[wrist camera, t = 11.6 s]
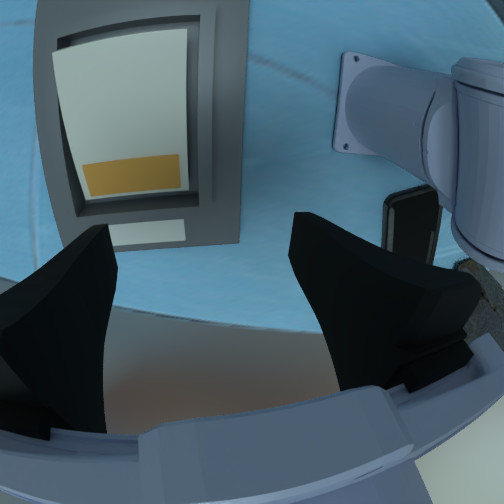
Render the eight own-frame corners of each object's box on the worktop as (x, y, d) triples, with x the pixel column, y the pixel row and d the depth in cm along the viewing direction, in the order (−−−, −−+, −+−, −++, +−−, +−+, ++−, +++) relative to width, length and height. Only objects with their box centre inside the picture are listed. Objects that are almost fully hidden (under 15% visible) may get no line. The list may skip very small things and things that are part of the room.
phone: (378, 309, 32) (387, 199, 23) (374, 303, 33) (380, 194, 24) (427, 287, 32) (446, 183, 23) (422, 282, 33) (439, 178, 24)
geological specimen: (449, 307, 39) (497, 374, 27) (424, 316, 38) (474, 390, 26) (474, 255, 33) (536, 324, 21) (450, 261, 32) (518, 340, 20)
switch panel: (247, -25, 12) (258, -42, 9) (236, 233, 23) (243, 258, 20) (46, 3, 9) (23, -5, 6) (72, 245, 21) (58, 271, 18)
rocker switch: (187, 27, 10) (187, 28, 10) (188, 182, 18) (189, 191, 18) (58, 49, 9) (51, 53, 9) (88, 192, 17) (85, 201, 16)
